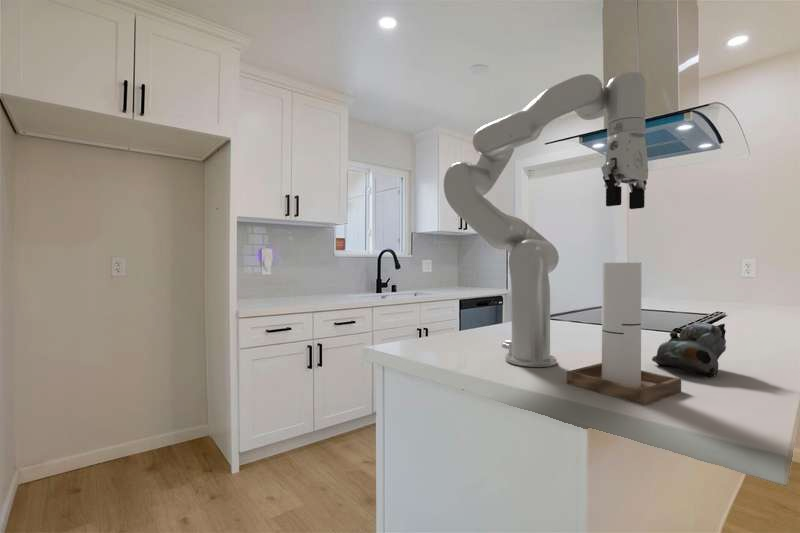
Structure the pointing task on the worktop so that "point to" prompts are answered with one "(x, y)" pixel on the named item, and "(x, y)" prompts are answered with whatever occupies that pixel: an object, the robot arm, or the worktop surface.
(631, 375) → the cylindrical container
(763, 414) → the worktop surface
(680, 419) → the worktop surface
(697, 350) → the dark grey lumpy shape
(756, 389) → the worktop surface
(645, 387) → the walnut tray
